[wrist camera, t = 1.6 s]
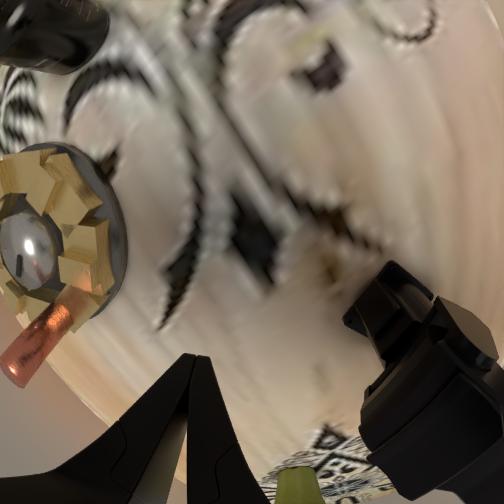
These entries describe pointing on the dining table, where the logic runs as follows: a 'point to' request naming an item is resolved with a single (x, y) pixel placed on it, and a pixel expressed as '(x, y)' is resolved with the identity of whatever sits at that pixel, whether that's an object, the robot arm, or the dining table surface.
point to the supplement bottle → (50, 33)
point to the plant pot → (298, 487)
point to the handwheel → (70, 261)
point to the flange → (59, 232)
